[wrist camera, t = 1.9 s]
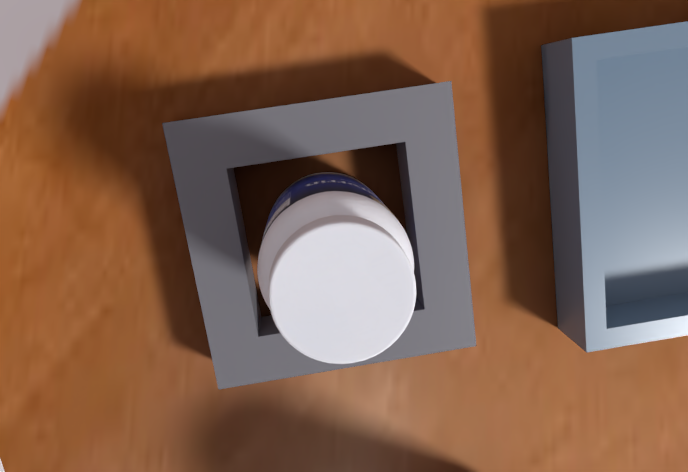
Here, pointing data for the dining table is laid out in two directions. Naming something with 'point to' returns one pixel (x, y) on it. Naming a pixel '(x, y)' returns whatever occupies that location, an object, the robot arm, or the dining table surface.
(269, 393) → the dining table surface
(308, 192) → the pill bottle
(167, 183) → the dining table surface
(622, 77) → the parts tray
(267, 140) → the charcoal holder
